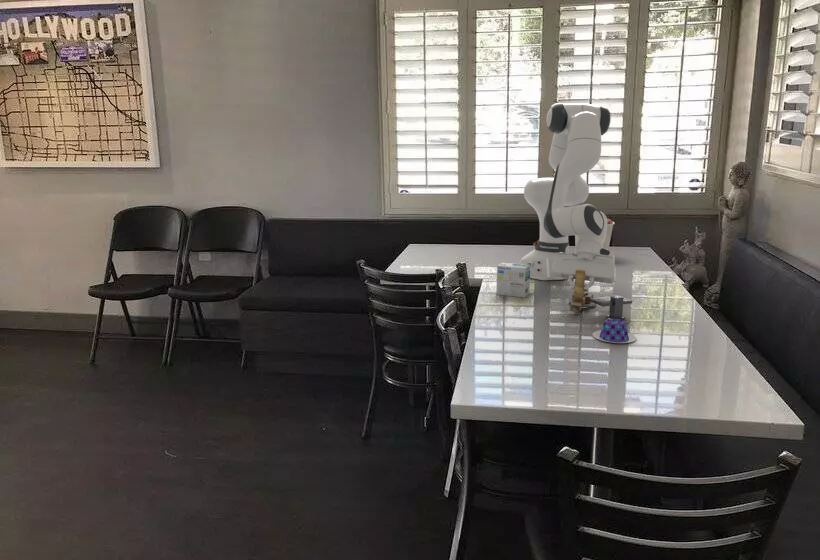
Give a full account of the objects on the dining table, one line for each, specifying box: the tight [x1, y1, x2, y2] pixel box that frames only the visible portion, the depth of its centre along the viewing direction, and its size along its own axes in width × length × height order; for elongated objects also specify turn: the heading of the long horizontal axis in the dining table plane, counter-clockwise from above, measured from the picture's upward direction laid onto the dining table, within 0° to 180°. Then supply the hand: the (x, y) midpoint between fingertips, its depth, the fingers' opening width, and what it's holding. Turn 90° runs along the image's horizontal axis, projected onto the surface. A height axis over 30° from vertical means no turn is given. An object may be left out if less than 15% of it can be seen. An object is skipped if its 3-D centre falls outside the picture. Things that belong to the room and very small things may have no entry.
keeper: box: [590, 294, 633, 321], centre depth 207 cm, size 8×11×7 cm
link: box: [570, 270, 594, 313], centre depth 215 cm, size 18×6×12 cm, turn 157°
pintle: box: [568, 283, 597, 308], centre depth 221 cm, size 9×9×7 cm
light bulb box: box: [495, 262, 531, 298], centre depth 234 cm, size 11×7×11 cm, turn 65°
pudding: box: [592, 318, 637, 344], centre depth 187 cm, size 12×12×5 cm
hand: (579, 289), depth 212 cm, fingers open, 3 cm apart
